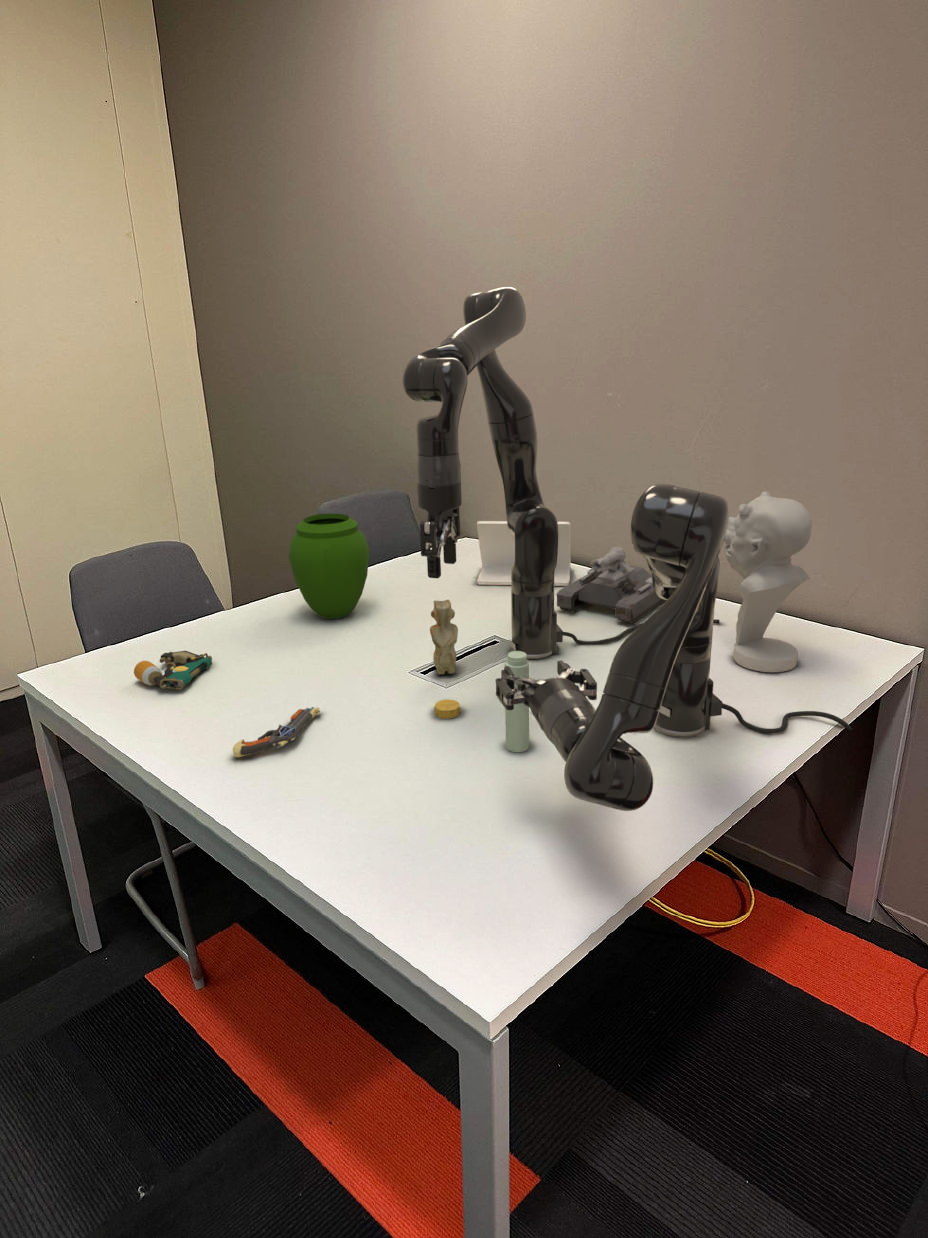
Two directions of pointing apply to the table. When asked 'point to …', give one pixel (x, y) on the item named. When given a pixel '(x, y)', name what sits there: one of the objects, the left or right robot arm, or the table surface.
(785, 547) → the bust sculpture
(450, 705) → the lid
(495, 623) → the table surface
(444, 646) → the sculpture
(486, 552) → the tablet stand
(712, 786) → the table surface
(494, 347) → the left robot arm
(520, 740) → the pale green cylinder
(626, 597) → the toy
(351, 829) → the table surface
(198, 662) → the spray gun
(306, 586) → the vase
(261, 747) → the toy gun
